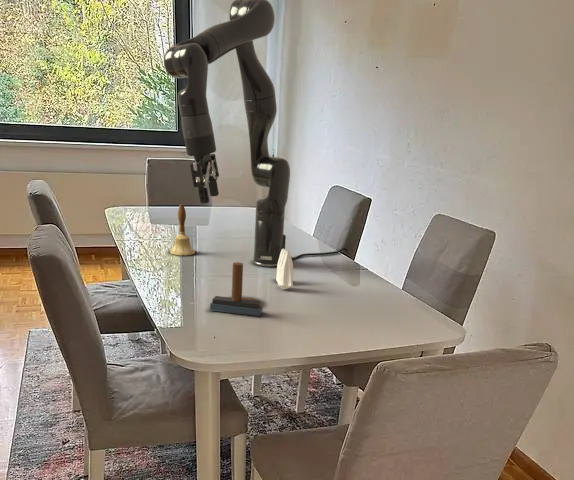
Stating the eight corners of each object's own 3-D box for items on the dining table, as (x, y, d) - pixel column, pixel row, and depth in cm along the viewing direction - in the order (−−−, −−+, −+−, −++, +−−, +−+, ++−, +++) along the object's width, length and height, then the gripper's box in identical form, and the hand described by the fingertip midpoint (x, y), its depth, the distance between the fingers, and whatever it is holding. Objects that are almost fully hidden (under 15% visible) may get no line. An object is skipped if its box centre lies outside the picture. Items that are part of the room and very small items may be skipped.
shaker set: (292, 292, 181) (295, 254, 177) (278, 291, 181) (280, 253, 176) (289, 280, 192) (291, 244, 187) (275, 279, 192) (277, 243, 187)
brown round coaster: (250, 296, 176) (250, 295, 176) (269, 307, 169) (269, 306, 169) (218, 300, 171) (218, 300, 171) (237, 312, 163) (237, 311, 163)
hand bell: (166, 254, 210) (165, 205, 203) (174, 248, 218) (174, 201, 211) (190, 256, 209) (190, 207, 202) (198, 251, 217) (198, 203, 210)
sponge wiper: (213, 306, 165) (214, 259, 160) (262, 312, 164) (264, 264, 158) (210, 311, 162) (210, 262, 157) (259, 317, 161) (262, 268, 155)
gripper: (204, 136, 152) (215, 204, 159) (220, 128, 164) (230, 192, 172) (174, 139, 154) (187, 206, 161) (193, 132, 166) (204, 194, 173)
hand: (210, 199), depth 166 cm, fingers open, 8 cm apart
